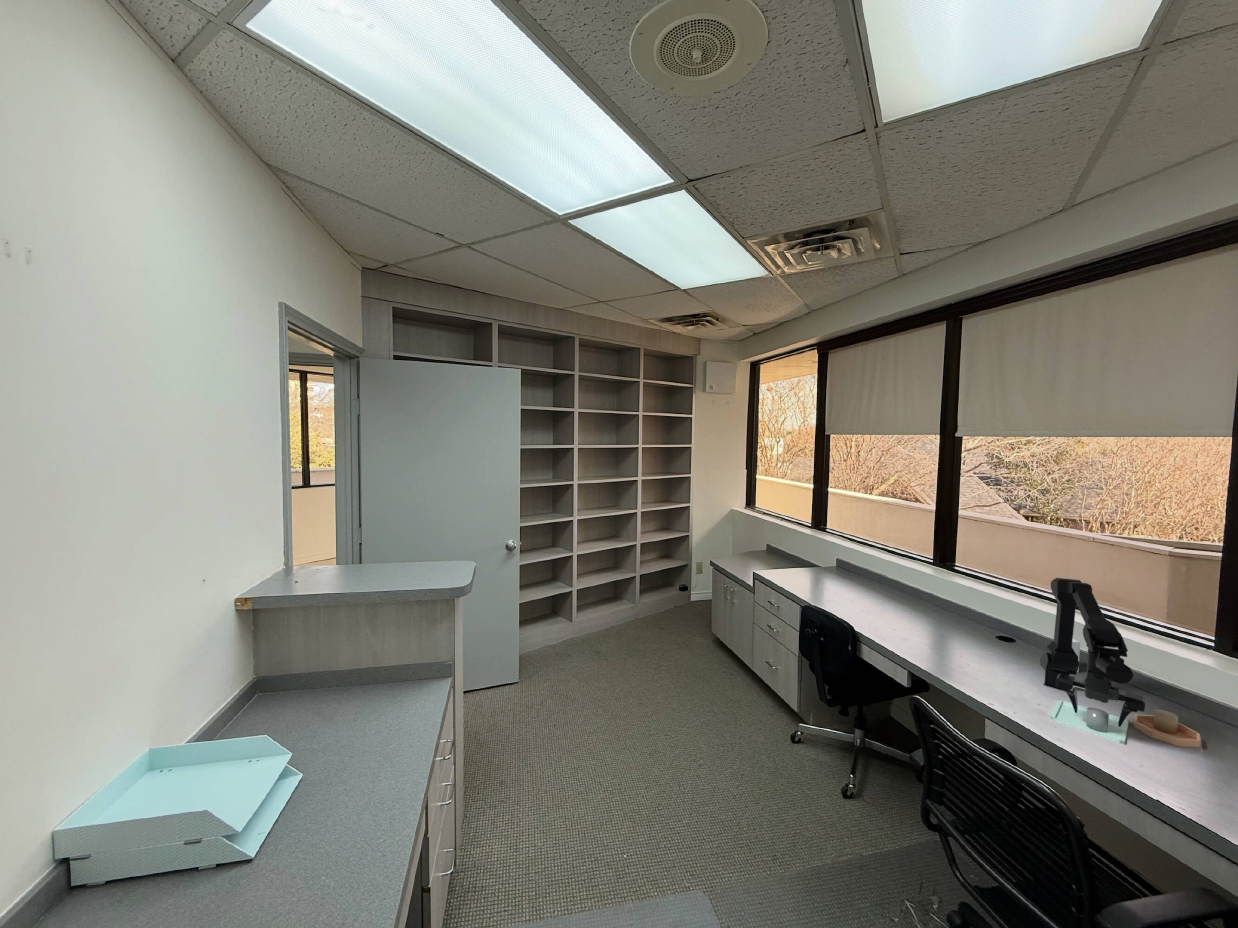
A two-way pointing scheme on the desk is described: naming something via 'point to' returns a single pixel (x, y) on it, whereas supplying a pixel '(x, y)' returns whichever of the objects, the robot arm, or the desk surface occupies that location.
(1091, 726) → the grey rounded lump
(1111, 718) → the parts tray
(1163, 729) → the river pebble
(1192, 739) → the dish
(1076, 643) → the skincare box
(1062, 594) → the robot arm
